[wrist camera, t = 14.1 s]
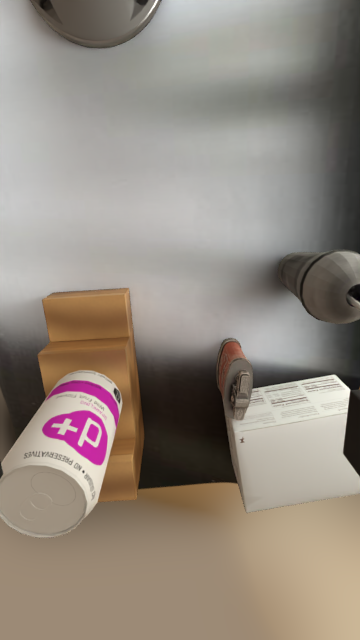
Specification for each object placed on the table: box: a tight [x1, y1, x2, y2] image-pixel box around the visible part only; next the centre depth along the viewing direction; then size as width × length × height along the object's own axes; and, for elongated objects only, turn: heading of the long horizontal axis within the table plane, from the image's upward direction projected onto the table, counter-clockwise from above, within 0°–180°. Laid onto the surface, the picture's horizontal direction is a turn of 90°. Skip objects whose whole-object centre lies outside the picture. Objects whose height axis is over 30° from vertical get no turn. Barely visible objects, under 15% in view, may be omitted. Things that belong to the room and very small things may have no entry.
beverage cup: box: [278, 249, 360, 324], centre depth 34 cm, size 7×7×20 cm
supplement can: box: [0, 370, 123, 538], centre depth 32 cm, size 8×8×15 cm
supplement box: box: [222, 375, 360, 513], centre depth 45 cm, size 17×13×9 cm
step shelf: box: [38, 288, 145, 502], centre depth 41 cm, size 23×10×12 cm, turn 3°
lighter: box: [216, 338, 253, 421], centre depth 42 cm, size 8×3×10 cm, turn 176°
